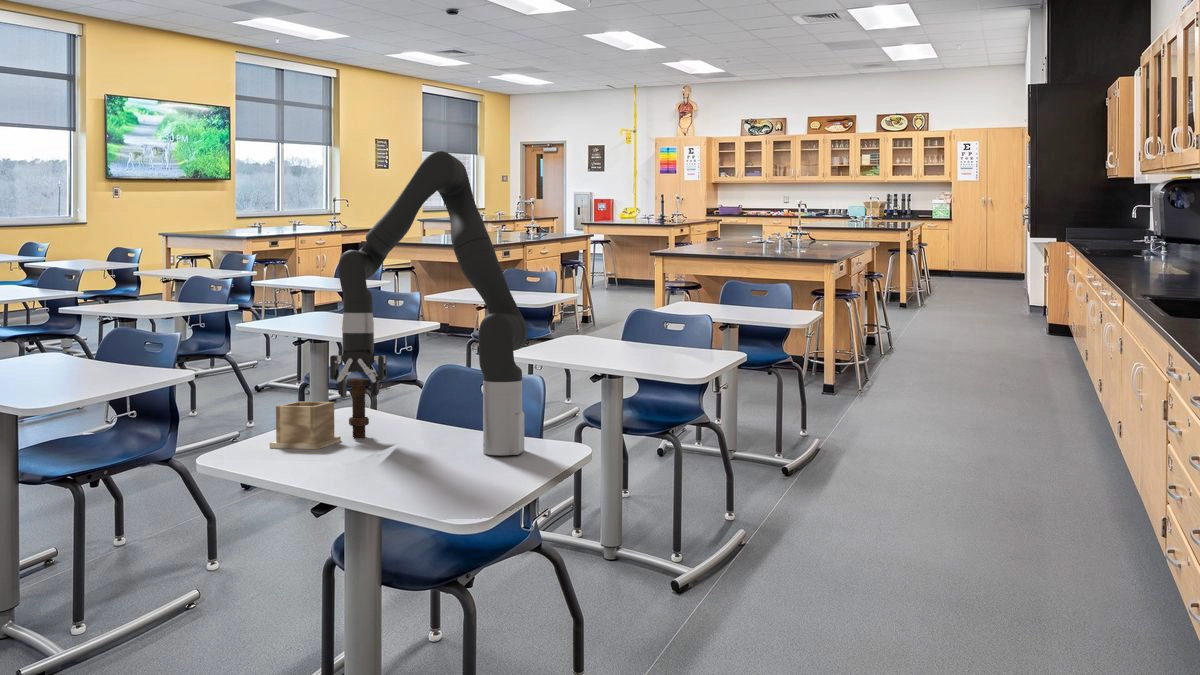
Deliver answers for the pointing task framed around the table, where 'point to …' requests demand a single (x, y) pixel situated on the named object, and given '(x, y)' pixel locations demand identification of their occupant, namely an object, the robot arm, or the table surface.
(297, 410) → the socket block
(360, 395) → the bolt
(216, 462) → the table surface
